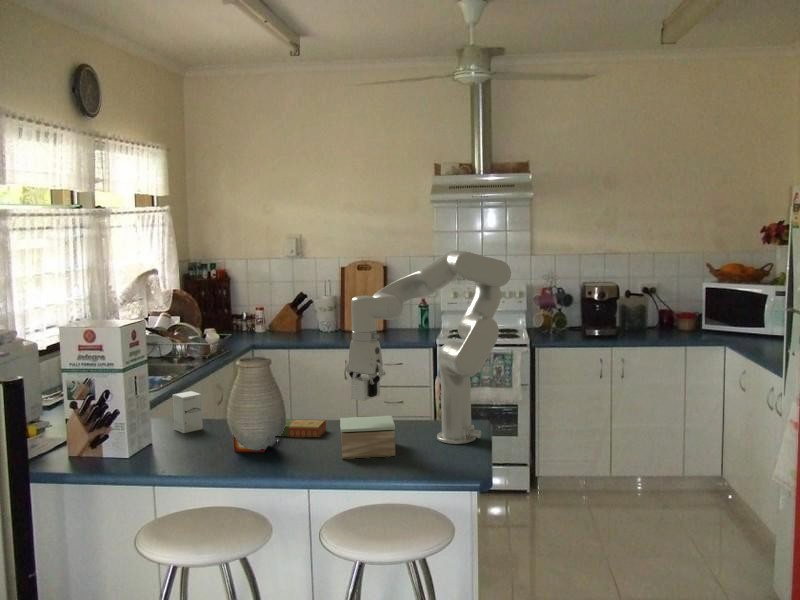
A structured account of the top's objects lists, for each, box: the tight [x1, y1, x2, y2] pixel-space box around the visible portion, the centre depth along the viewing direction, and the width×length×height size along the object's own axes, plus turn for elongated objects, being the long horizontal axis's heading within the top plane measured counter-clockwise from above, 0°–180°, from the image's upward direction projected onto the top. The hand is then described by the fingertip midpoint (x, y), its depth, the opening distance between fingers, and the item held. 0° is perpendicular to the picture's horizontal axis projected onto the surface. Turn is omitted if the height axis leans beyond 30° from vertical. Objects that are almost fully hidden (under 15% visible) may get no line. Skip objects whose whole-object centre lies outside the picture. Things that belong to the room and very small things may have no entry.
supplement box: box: [171, 390, 204, 434], centre depth 270 cm, size 7×7×13 cm
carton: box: [281, 418, 327, 438], centre depth 263 cm, size 8×16×4 cm, turn 78°
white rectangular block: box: [350, 374, 381, 401], centre depth 240 cm, size 5×8×6 cm, turn 145°
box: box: [340, 429, 396, 460], centre depth 242 cm, size 14×16×8 cm
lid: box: [339, 415, 396, 433], centre depth 242 cm, size 14×16×1 cm
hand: (365, 394), depth 240 cm, fingers closed on white rectangular block, 5 cm apart
